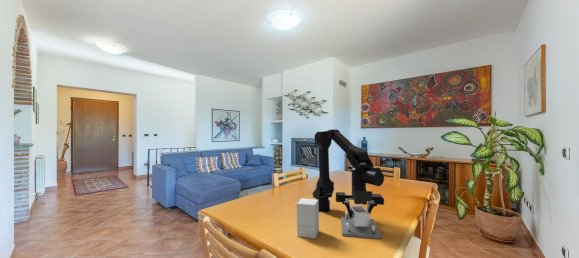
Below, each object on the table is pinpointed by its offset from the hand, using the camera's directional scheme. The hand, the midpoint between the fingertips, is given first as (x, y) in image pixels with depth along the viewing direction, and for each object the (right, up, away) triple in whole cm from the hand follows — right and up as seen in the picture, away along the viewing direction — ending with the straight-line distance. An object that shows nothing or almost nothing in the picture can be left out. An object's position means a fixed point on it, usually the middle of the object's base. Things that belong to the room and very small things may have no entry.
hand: (358, 218), depth 92 cm
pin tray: (0, -4, 0) cm, 4 cm away
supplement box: (-21, -4, -5) cm, 22 cm away
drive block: (0, -1, 0) cm, 1 cm away
